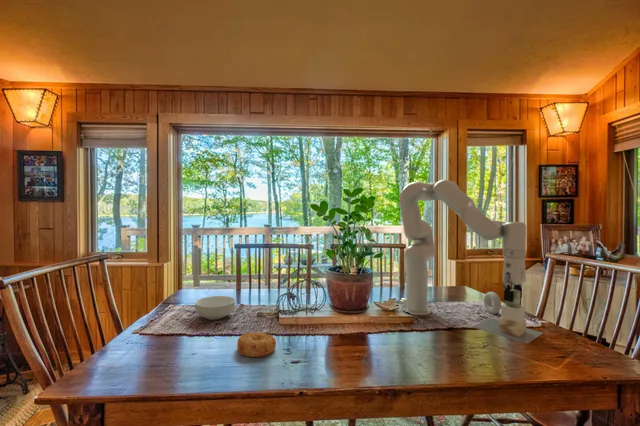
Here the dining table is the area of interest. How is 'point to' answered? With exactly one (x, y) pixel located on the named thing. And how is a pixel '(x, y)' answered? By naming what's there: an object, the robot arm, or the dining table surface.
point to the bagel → (256, 344)
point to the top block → (512, 313)
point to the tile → (493, 327)
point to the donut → (496, 301)
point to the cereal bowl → (214, 307)
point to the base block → (512, 326)
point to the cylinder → (516, 300)
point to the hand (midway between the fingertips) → (512, 298)
